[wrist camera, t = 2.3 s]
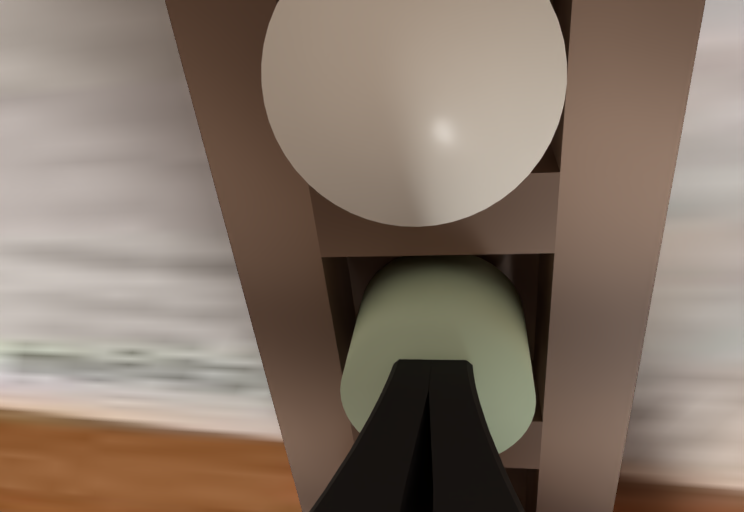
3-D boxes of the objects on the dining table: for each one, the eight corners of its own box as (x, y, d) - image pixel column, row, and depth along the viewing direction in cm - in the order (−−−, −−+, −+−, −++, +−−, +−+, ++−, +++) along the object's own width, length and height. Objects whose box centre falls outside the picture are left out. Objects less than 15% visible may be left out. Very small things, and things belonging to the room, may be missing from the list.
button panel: (578, 509, 19) (595, 604, 16) (339, 496, 20) (321, 582, 18) (677, -250, 9) (760, -307, 6) (197, -175, 10) (111, -198, 8)
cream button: (536, 151, 10) (556, 223, 7) (326, 161, 10) (290, 230, 8) (548, -103, 8) (580, -104, 6) (289, -73, 8) (230, -63, 6)
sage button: (521, 379, 13) (531, 470, 11) (369, 377, 14) (352, 462, 12) (526, 247, 12) (540, 325, 9) (351, 250, 12) (327, 325, 10)
